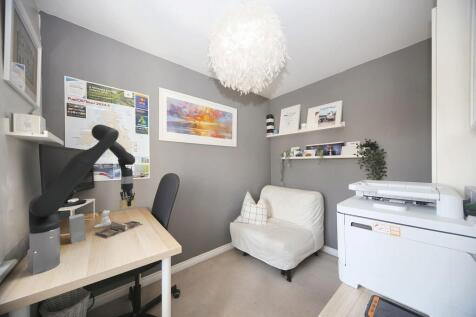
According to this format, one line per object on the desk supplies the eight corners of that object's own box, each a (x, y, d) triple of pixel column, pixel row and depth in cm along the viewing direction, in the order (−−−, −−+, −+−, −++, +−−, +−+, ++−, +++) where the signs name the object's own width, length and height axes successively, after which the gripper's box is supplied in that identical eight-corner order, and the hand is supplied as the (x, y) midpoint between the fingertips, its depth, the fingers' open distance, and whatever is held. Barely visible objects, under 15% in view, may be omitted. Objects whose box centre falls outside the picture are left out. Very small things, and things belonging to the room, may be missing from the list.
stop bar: (131, 205, 128) (131, 197, 128) (135, 205, 126) (134, 197, 126) (119, 208, 119) (119, 200, 119) (122, 208, 118) (122, 200, 118)
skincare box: (86, 241, 101) (86, 215, 101) (69, 246, 96) (69, 218, 96) (84, 237, 107) (84, 212, 107) (68, 241, 102) (68, 215, 102)
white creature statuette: (103, 224, 130) (103, 208, 130) (114, 223, 130) (114, 208, 131) (93, 228, 121) (93, 212, 121) (106, 228, 121) (105, 211, 121)
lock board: (106, 240, 102) (106, 232, 102) (91, 236, 109) (91, 228, 109) (143, 225, 125) (143, 218, 125) (129, 222, 132) (129, 216, 132)
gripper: (138, 182, 123) (139, 205, 123) (126, 181, 129) (126, 203, 129) (128, 183, 117) (128, 208, 117) (115, 182, 122) (116, 206, 122)
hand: (127, 205), depth 123 cm, fingers closed on stop bar, 3 cm apart
